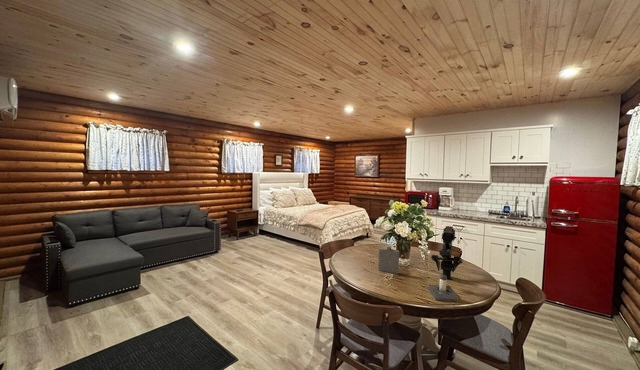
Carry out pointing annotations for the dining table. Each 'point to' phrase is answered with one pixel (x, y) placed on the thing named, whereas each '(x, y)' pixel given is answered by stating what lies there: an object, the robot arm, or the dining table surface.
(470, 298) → the dining table surface
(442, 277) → the plug
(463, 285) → the dining table surface
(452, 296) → the gray rectangular frame
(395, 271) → the hip flask
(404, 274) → the dining table surface
